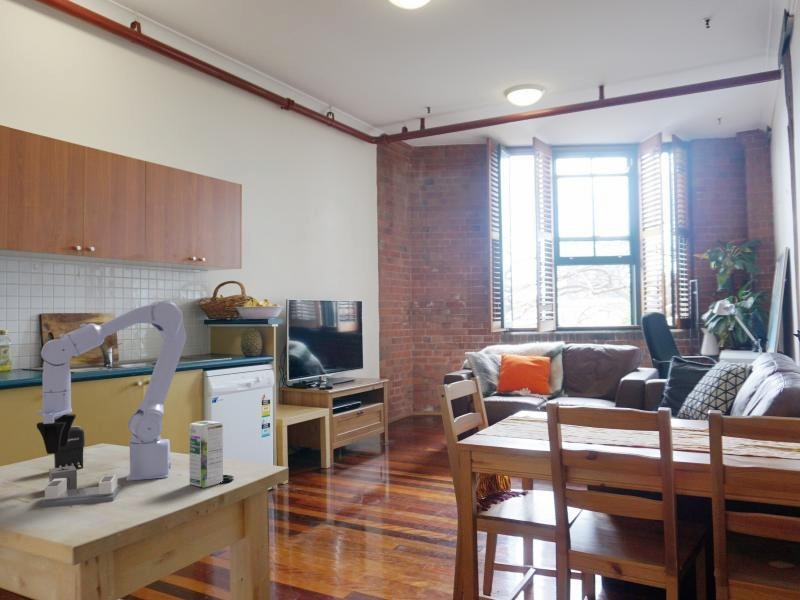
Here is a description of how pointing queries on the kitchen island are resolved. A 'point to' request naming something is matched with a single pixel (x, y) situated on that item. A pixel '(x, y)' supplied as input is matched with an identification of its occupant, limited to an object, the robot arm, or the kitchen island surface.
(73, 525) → the kitchen island surface
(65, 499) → the board
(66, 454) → the battery charger
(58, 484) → the mounted modules
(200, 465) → the syrup box
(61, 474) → the dice cube
